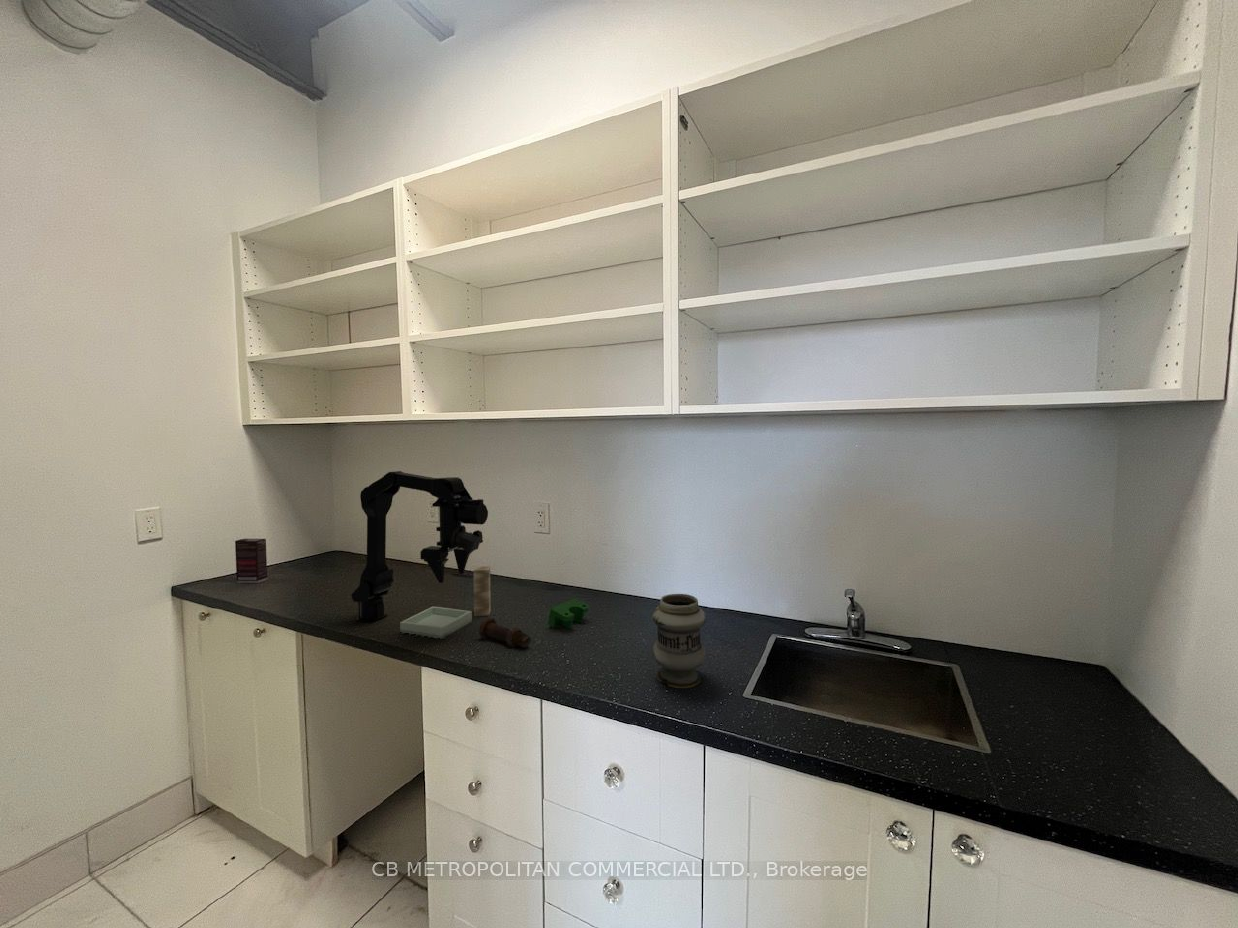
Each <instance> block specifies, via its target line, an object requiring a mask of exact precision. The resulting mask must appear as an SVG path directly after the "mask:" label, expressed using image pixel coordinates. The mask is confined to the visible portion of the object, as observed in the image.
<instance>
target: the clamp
mask: <svg viewBox="0 0 1238 928" xmlns="http://www.w3.org/2000/svg"><path fill="white" fill-rule="evenodd" d="M589 607H590V605H589V604H587V603H586V602H583V601H581V600H580V599H578V598H577V597H575V598H572V599H570V600H567V601H565V602H563V603H561V604H558V605H557V606H554V607H552V608H550V610H549V615H548V616H549V617H548V622H547V625H548V626H550V627H551V628H553V629H557V628H559V627H560V626H563V627H565V628H567V629H569V630H571V629H572V627H573V624H574V623H573V622H576V623H579V624H580V623H581V624H583V620H584V616H585V613H588V612H589Z"/></svg>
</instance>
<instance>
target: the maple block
mask: <svg viewBox="0 0 1238 928" xmlns="http://www.w3.org/2000/svg"><path fill="white" fill-rule="evenodd" d="M491 611H492V610H491V566H486V565H485V566H474V569H473V617H485V616H487V617H489V616H490V614H491Z"/></svg>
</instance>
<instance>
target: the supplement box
mask: <svg viewBox="0 0 1238 928" xmlns="http://www.w3.org/2000/svg"><path fill="white" fill-rule="evenodd" d="M234 544H235V545H234V546H235V548H234V549H235V572H236V583H237V584H239V583H240V584H259V583H262V582H265V581H267V580H268V565H267V563H268V561H267V560H268V559H267V538H241V539H237V540H235V541H234Z"/></svg>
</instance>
